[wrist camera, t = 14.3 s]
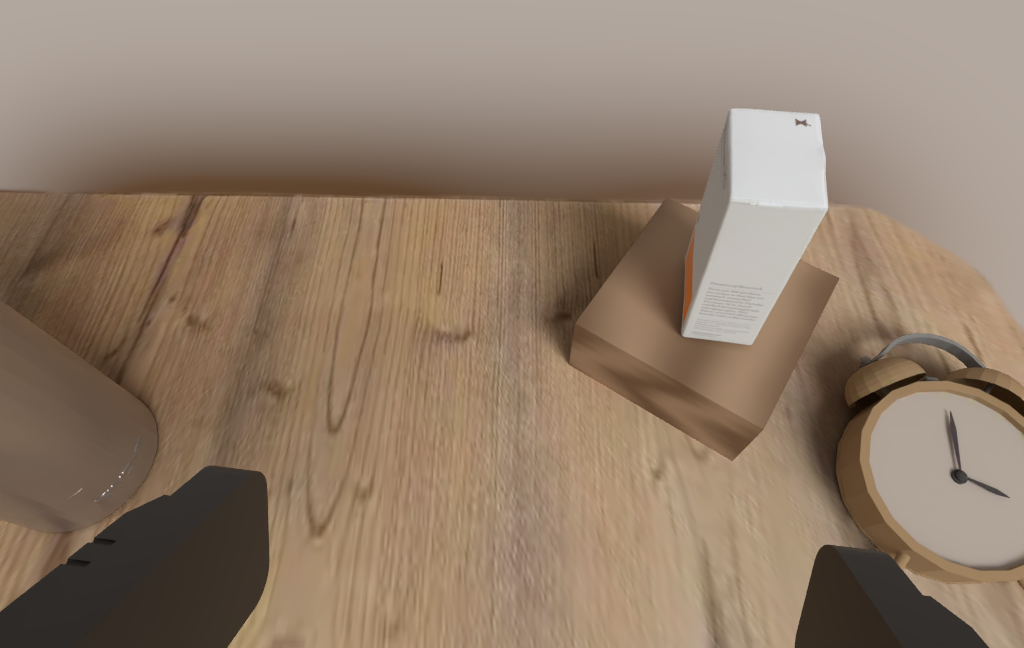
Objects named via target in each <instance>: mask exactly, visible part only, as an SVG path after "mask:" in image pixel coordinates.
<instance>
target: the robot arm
mask: <svg viewBox="0 0 1024 648" xmlns="http://www.w3.org/2000/svg"><path fill="white" fill-rule="evenodd" d="M157 442H158V433H157V426H156V422H155V420H154V417H153V415H152V413H151V411H150V410H149V409H148V408H147V407H146V405H145V404H144V403H143V402H142V401H140V400H139V399H137V398H136V397H135V396H133V395H132V394H130V393H129V392H128V391H126V390H125V389H124V388H122V387H121V386H119V385H118V384H117V383H115V382H114V381H112V380H111V379H110V378H108V377H107V376H106V375H105V374H103V373H102V372H100V371H99V370H98V369H96V368H95V367H94V366H92V365H91V364H89V363H88V362H87V361H85V360H84V359H82V358H81V357H80V356H78V355H77V354H75V353H74V352H73V351H71V350H70V349H68V348H67V347H66V346H64V345H63V344H61V343H60V342H59V341H57V340H56V339H54V338H53V337H52V336H50V335H49V334H47V333H46V332H45V331H43V330H42V329H40V328H39V327H38V326H36V325H35V324H33V323H32V322H31V321H29V320H28V319H27V318H25V317H24V316H22V315H21V314H20V313H18V312H17V311H15V310H14V309H13V308H11V307H10V306H8V305H7V304H6V303H4V302H3V301H1V300H0V520H3V521H6V522H10V523H13V524H16V525H20V526H23V527H27V528H30V529H33V530H37V531H42V532H49V533H61V532H71V531H74V530H78V529H81V528H85V527H88V526H90V525H92V524H94V523H96V522H98V521H100V520H102V519H104V518H106V517H107V516H109V515H110V514H111V513H113V512H114V511H116V510H117V509H119V508H120V507H121V506H122V505H123V504H124V503H125V502H126V501H127V500H128V499H129V498H130V497H131V496H132V495H133V494H134V493H135V492H136V490H137V489H138V488H139V487H140V485H141V484H142V483H143V481H144V480H145V478H146V476H147V474H148V472H149V470H150V468H151V466H152V464H153V461H154V458H155V454H156V451H157ZM268 571H269V531H268V497H267V483H266V479H265V476H264V475H263V474H262V473H261V472H258V471H251V470H243V469H235V468H227V467H219V466H207V467H205V468H204V469H202V470H201V471H200V472H198V473H197V474H196V475H195V476H194V477H192V478H191V479H190V480H189V481H188V482H186V483H185V484H184V485H183V486H182V487H180V488H179V489H178V490H177V491H176V492H174V493H173V494H172V495H171V496H168V495H163V496H161V497H159V498H157V499H155V500H153V501H150V502H148V503H146V504H144V505H142V506H140V507H138V508H135V509H133V510H131V511H129V512H127V513H125V514H124V515H122V516H121V517H120V518H119V519H117V520H116V521H115V522H114V523H112V524H111V525H110V526H108V527H107V528H106V529H105V530H103V531H102V532H101V533H100V534H98V535H97V536H96V537H95V538H94V541H93V543H87V544H86V545H84V546H83V547H82V548H81V549H79V550H78V551H77V552H76V553H74V554H73V555H72V556H70V557H69V558H68V561H67V563H66V564H65V565H64V564H60V565H59V566H58V567H57V568H55V569H54V570H53V571H51V572H50V573H49V574H48V575H46V576H45V577H44V578H43V579H41V580H40V581H39V582H38V583H36V584H35V585H34V586H32V587H31V588H30V589H29V590H27V591H26V592H25V593H24V594H22V595H21V596H20V597H19V598H17V599H16V600H15V601H13V602H12V603H11V604H10V605H8V606H7V607H6V608H5V609H3V610H2V611H1V612H0V648H227V647H228V645H229V644H230V643H231V641H232V640H233V638H234V637H235V636H236V634H237V633H238V631H239V630H240V628H241V627H242V626H243V624H244V623H245V621H246V620H247V619H248V617H249V616H250V614H251V613H252V612H253V610H254V609H255V607H256V605H257V604H258V602H259V600H260V598H261V595H262V593H263V590H264V587H265V584H266V580H267V576H268ZM795 648H989V647H988V646H987V645H986V643H985V642H984V641H983V640H982V639H981V638H980V636H979V635H978V634H977V633H976V632H975V631H974V629H973V628H972V627H970V626H969V625H968V624H966V623H965V622H964V621H962V620H961V619H960V618H958V617H957V616H956V615H954V614H953V613H952V612H950V611H949V610H948V609H946V608H945V607H944V606H943V605H941V604H940V603H939V602H937V601H936V600H935V599H933V598H932V597H931V596H923V595H922V594H921V593H920V591H919V590H918V589H917V588H916V586H915V585H914V584H913V583H912V582H911V580H910V579H909V578H908V577H907V575H906V574H905V573H904V572H903V570H902V569H901V568H900V567H899V565H898V564H897V563H896V562H895V560H894V559H893V558H892V557H891V556H890V555H889V554H887V553H885V552H882V551H875V550H867V549H859V548H851V547H843V546H835V545H824V546H823V547H821V548H820V550H819V551H818V553H817V555H816V558H815V562H814V566H813V570H812V574H811V578H810V582H809V586H808V590H807V594H806V598H805V601H804V605H803V609H802V613H801V617H800V621H799V625H798V629H797V633H796V639H795Z"/></svg>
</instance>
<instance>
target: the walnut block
mask: <svg viewBox="0 0 1024 648" xmlns="http://www.w3.org/2000/svg"><path fill="white" fill-rule="evenodd" d="M698 213H699V212H697V211H695V210H693V209H691V208H688V207H686V206H684V205H682V204H680V203H678V202H676V201H674V200H671V199H669V198H666V199H665V201H664V202H663V203H662V205H661V206H660V207H659V209H658V210H657V212H656V213H655V214H654V216H653V217H652V218H651V220H650V221H649V222H648V224H647V225H646V227H645V228H644V229H643V231H642V232H641V233H640V235H639V236H638V238H637V239H636V240H635V242H634V243H633V244H632V246H631V247H630V249H629V250H628V251H627V253H626V254H625V255H624V257H623V258H622V260H621V261H620V262H619V264H618V265H617V266H616V268H615V269H614V271H613V272H612V273H611V275H610V276H609V277H608V279H607V280H606V281H605V283H604V284H603V286H602V287H601V288H600V290H599V291H598V292H597V294H596V295H595V297H594V298H593V299H592V301H591V302H590V303H589V305H588V306H587V308H586V309H585V310H584V312H583V313H582V314H581V316H580V317H579V319H578V320H577V321H576V323H575V327H574V333H573V340H572V347H571V353H570V360H569V365H571V366H572V367H574V368H576V369H577V370H579V371H581V372H582V373H584V374H586V375H587V376H589V377H591V378H593V379H594V380H596V381H598V382H599V383H601V384H603V385H604V386H606V387H608V388H609V389H611V390H613V391H615V392H616V393H618V394H620V395H621V396H623V397H625V398H626V399H628V400H630V401H631V402H633V403H635V404H637V405H638V406H640V407H642V408H643V409H645V410H647V411H648V412H650V413H652V414H653V415H655V416H657V417H659V418H660V419H662V420H664V421H665V422H667V423H669V424H670V425H672V426H674V427H676V428H677V429H679V430H681V431H682V432H684V433H686V434H687V435H689V436H691V437H692V438H694V439H696V440H698V441H699V442H701V443H703V444H704V445H706V446H708V447H709V448H711V449H713V450H714V451H716V452H718V453H720V454H721V455H723V456H725V457H726V458H728V459H730V460H731V461H733V460H734V459H735V458H736V457H737V456H738V455H739V454H740V453H741V452H742V451H743V450H744V449H745V448H746V447H747V446H748V445H749V444H750V443H751V442H752V441H753V440H754V439H755V438H756V437H757V436H758V434H759V433H760V432H761V431H762V430H763V429H764V427H765V425H766V423H767V421H768V419H769V417H770V415H771V413H772V411H773V409H774V407H775V405H776V403H777V401H778V399H779V397H780V395H781V393H782V391H783V389H784V387H785V385H786V383H787V381H788V380H789V378H790V376H791V374H792V372H793V370H794V368H795V366H796V364H797V362H798V360H799V358H800V356H801V354H802V352H803V350H804V348H805V346H806V344H807V342H808V340H809V338H810V336H811V334H812V332H813V330H814V328H815V326H816V324H817V322H818V320H819V318H820V316H821V314H822V312H823V310H824V308H825V306H826V304H827V302H828V300H829V298H830V296H831V294H832V292H833V290H834V288H835V286H836V284H837V282H838V280H839V278H838V277H836V276H833V275H831V274H829V273H827V272H825V271H823V270H821V269H819V268H816V267H814V266H812V265H810V264H808V263H806V262H804V261H801V260H799V262H798V263H797V265H796V267H795V269H794V271H793V272H792V274H791V276H790V278H789V280H788V281H787V283H786V285H785V287H784V288H783V290H782V292H781V294H780V296H779V297H778V299H777V301H776V303H775V305H774V306H773V308H772V310H771V312H770V313H769V315H768V317H767V319H766V321H765V322H764V324H763V326H762V328H761V330H760V331H759V333H758V335H757V337H756V339H755V340H754V342H753V344H752V345H744V344H737V343H730V342H722V341H714V340H706V339H697V338H688V337H684V336H682V335H681V328H682V316H683V303H684V283H685V257H686V254H687V250H688V247H689V244H690V240H691V237H692V234H693V230H694V227H695V224H696V220H697V217H698Z"/></svg>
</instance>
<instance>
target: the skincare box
mask: <svg viewBox="0 0 1024 648" xmlns="http://www.w3.org/2000/svg"><path fill="white" fill-rule="evenodd" d="M825 167H826V158H825V151H824V149H823V141H822V133H821V123H820V116H819V115H818V114H814V113H799V112H785V111H771V110H758V109H739V108H732V109H730V110H729V112H728V116H727V119H726V122H725V125H724V129H723V132H722V136H721V139H720V142H719V146H718V149H717V153H716V156H715V159H714V163H713V166H712V169H711V173H710V177H709V180H708V183H707V186H706V190H705V193H704V196H703V199H702V203H701V206H700V210H699V213H698V217H697V220H696V224H695V227H694V230H693V234H692V237H691V240H690V244H689V247H688V250H687V254H686V257H685V283H684V303H683V316H682V328H681V335H682V336H684V337H688V338H697V339H706V340H714V341H722V342H730V343H737V344H744V345H752V344H753V342H754V340H755V339H756V337H757V335H758V333H759V331H760V330H761V328H762V326H763V324H764V322H765V321H766V319H767V317H768V315H769V313H770V312H771V310H772V308H773V306H774V305H775V303H776V301H777V299H778V297H779V296H780V294H781V292H782V290H783V288H784V287H785V285H786V283H787V281H788V280H789V278H790V276H791V274H792V272H793V271H794V269H795V267H796V265H797V263H798V262H799V260H800V258H801V256H802V254H803V253H804V251H805V249H806V247H807V245H808V244H809V242H810V240H811V238H812V237H813V235H814V233H815V231H816V229H817V228H818V226H819V224H820V222H821V220H822V219H823V217H824V215H825V213H826V212H827V210H828V197H827V187H826V176H825Z"/></svg>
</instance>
